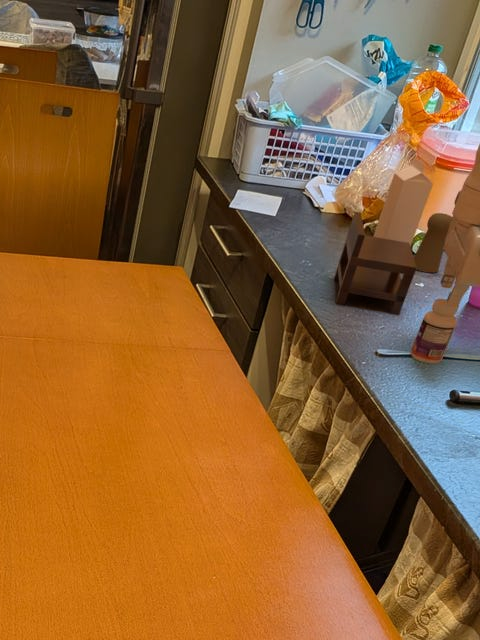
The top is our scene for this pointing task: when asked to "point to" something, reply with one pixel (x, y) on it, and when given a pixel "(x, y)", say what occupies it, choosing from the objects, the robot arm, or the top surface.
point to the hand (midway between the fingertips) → (448, 295)
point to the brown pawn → (433, 243)
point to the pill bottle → (435, 333)
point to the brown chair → (374, 267)
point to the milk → (404, 204)
